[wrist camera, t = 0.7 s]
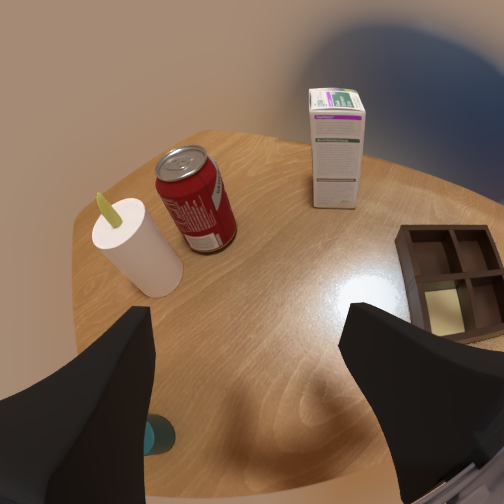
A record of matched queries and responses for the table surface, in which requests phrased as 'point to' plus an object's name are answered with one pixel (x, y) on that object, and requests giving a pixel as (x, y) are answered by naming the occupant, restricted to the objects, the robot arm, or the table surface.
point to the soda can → (195, 197)
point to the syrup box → (336, 146)
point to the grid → (453, 280)
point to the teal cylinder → (158, 435)
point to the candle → (137, 246)
